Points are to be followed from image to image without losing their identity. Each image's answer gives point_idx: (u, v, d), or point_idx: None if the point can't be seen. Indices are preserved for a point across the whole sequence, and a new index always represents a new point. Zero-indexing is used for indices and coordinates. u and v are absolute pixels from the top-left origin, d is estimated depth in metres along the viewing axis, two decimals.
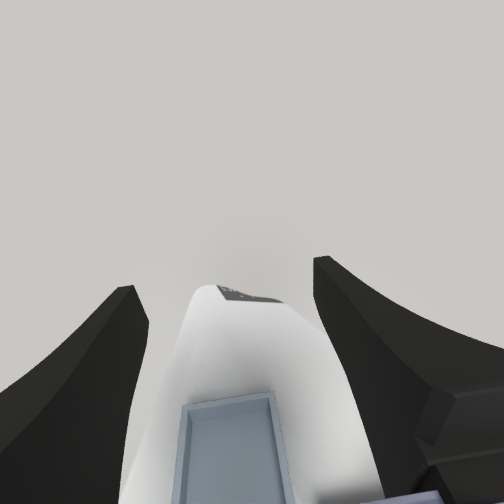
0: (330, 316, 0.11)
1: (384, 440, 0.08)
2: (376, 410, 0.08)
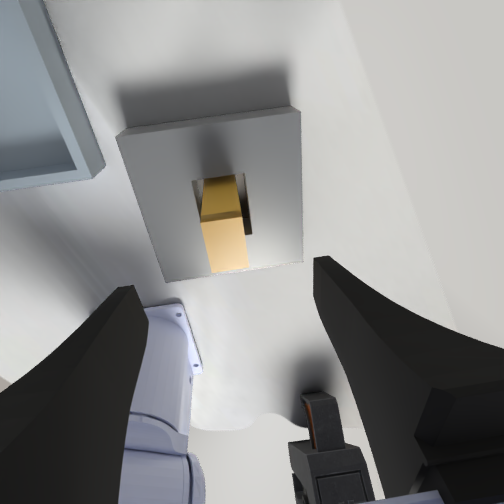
0: (330, 316, 0.11)
1: (384, 439, 0.08)
2: (376, 410, 0.08)
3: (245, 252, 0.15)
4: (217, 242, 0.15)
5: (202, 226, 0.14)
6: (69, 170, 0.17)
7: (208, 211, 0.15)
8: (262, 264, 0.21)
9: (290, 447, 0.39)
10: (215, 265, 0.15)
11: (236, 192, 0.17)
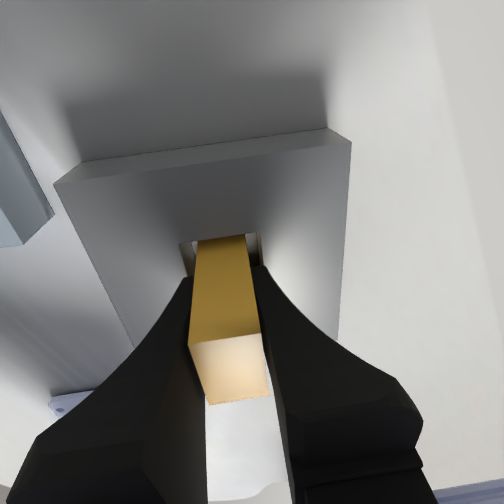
0: (260, 327, 0.11)
1: (286, 456, 0.08)
2: (281, 426, 0.08)
3: (264, 378, 0.09)
4: (217, 368, 0.09)
5: (191, 349, 0.08)
6: None
7: (202, 312, 0.09)
8: None
9: None
10: (215, 396, 0.09)
11: (247, 266, 0.11)
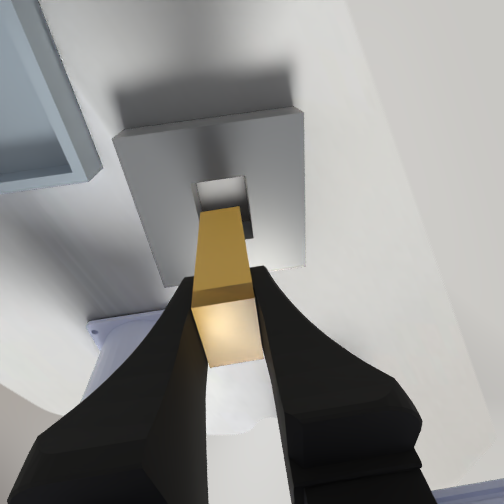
0: (259, 327, 0.11)
1: (285, 456, 0.07)
2: (280, 426, 0.08)
3: (258, 341, 0.10)
4: (217, 331, 0.10)
5: (194, 312, 0.09)
6: (64, 173, 0.16)
7: (204, 283, 0.10)
8: None
9: None
10: (215, 359, 0.11)
11: (244, 245, 0.12)
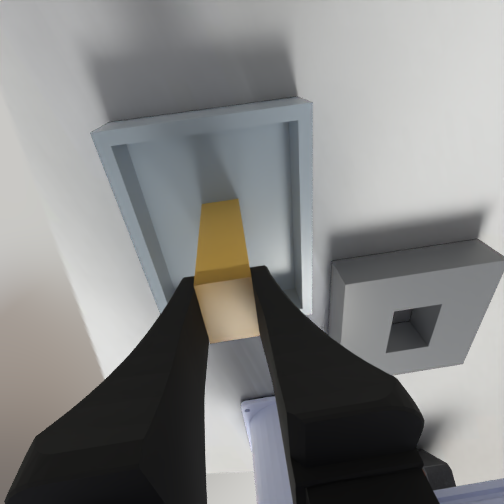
0: (260, 327, 0.11)
1: (286, 456, 0.07)
2: (282, 426, 0.08)
3: (255, 318, 0.11)
4: (217, 308, 0.11)
5: (196, 289, 0.10)
6: None
7: (205, 264, 0.11)
8: (426, 367, 0.23)
9: None
10: (215, 335, 0.12)
11: (242, 233, 0.13)
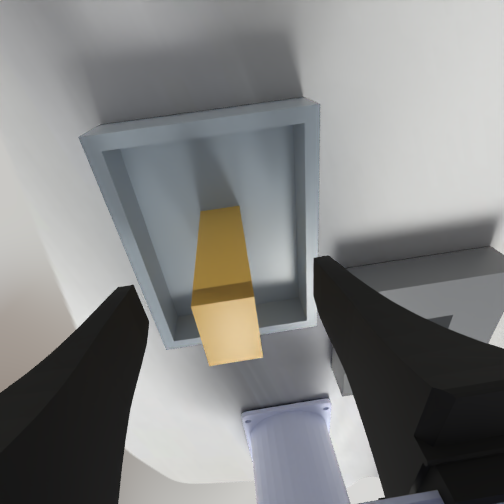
0: (330, 316, 0.11)
1: (384, 439, 0.08)
2: (376, 410, 0.08)
3: (258, 340, 0.10)
4: (217, 329, 0.10)
5: (194, 310, 0.09)
6: (298, 320, 0.17)
7: (203, 281, 0.10)
8: None
9: None
10: (214, 357, 0.11)
11: (243, 245, 0.12)
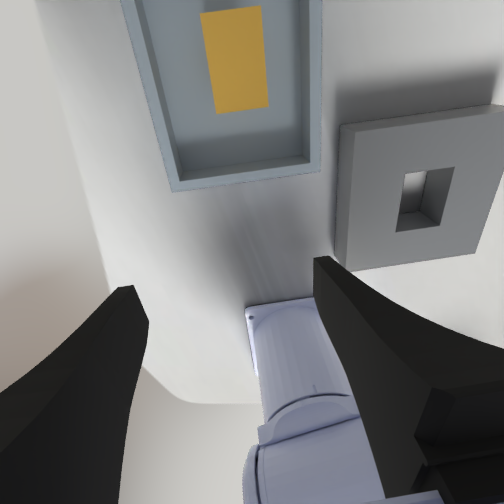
0: (330, 316, 0.11)
1: (385, 440, 0.08)
2: (376, 410, 0.08)
3: (264, 77, 0.11)
4: (224, 54, 0.10)
5: (202, 20, 0.10)
6: (301, 163, 0.18)
7: None
8: (437, 255, 0.22)
9: None
10: (221, 100, 0.11)
11: None
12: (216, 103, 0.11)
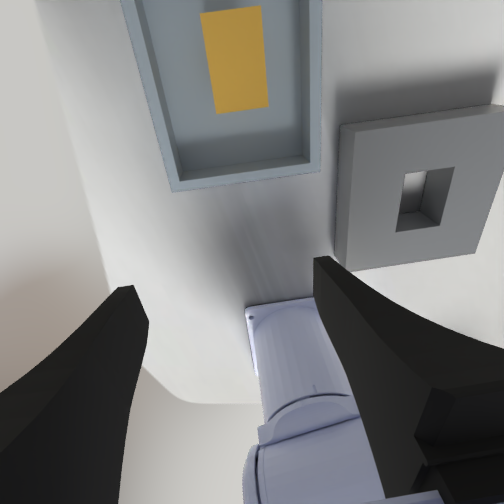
0: (330, 316, 0.11)
1: (385, 440, 0.08)
2: (376, 410, 0.08)
3: (264, 77, 0.11)
4: (224, 54, 0.10)
5: (202, 20, 0.10)
6: (301, 163, 0.18)
7: None
8: (437, 255, 0.22)
9: None
10: (221, 100, 0.11)
11: None
12: (216, 103, 0.11)
